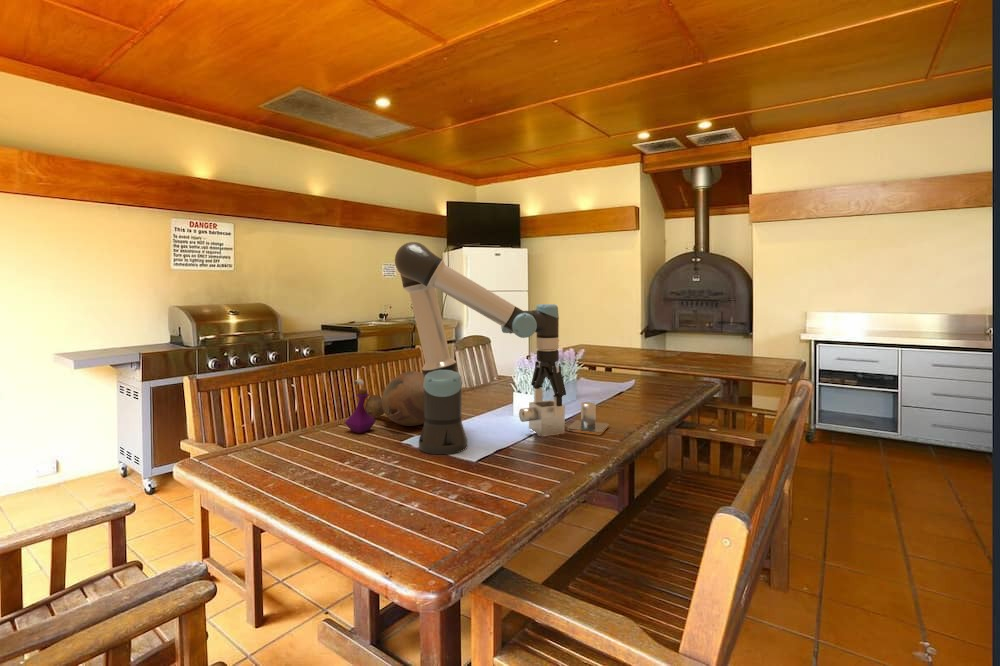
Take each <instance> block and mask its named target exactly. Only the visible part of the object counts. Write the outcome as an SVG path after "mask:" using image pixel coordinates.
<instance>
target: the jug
mask: <svg viewBox="0 0 1000 666" xmlns="http://www.w3.org/2000/svg"><path fill="white" fill-rule="evenodd" d="M423 382H424V376H423V372H421V371H415V370H411V371H410V370H409V371H405V372H403V373H400V374H399V375H397V376H396V377H393V379H392V380H390V381H389V382H388V384H387V385H386V386H385V388H384V390H383V393H382V395H381V396H379V395H377V394H376V395H375V394H372V395H371V396H368V398H367V400H366V402H365V411H366V412H367V413H368V414H369V415H370V416H371V417H372V418H373V419H374V420H375V419H376V418H378V417H380V416H383V415H384V414H385V416H386V417H387V418H388V419H389V420H390V421H392V422H394V423H396V424H397V425H401V426H405V427H415V426H420V425H424V387H423Z"/></svg>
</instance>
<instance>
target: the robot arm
mask: <svg viewBox="0 0 1000 666" xmlns="http://www.w3.org/2000/svg"><path fill="white" fill-rule="evenodd" d="M394 256H395V257H394V264H395V268H396V269H397V271H398V273H399V274H400V278H401V283H402V287H403V290H404V291H406V292H408V294H409V297H410V302H411V306H412V309H413V315H414V319H415V324H416V327H417V332H418V333H417V334H418V337H419V338H418V339H419V340H420V347H421V350H422V354H423V355H422V356H423V359H424V364H423V366H422V367H421V371H422V372H421V373H423V376H424V382H423V387H424V423H423V427H422V429H421V432H420V436H419V438H418V449H419V450H420V451H421V452H423V453H426V454H430V455H431V454H432V455H451V453H452V454H457V453H460V452H462V451H461V450H463V449H465V448H466V447H467V448H468V438H467V434H466V432H465V428H464V425H463V420H462V419H463V418H462V417H463V414H462V409H463V408H462V397H463V396H462V395H463V394H462V390H463V389H462V387H463V380H462V375H461V373H459V370H458V365H457V361H456V359H453V358H452V357H451V354H450V350H449V345H448V340H447V336H446V331H445V327H444V322H443V318H442V312H441V308H440V305H439V300H438V295H437V290H438V291H440V292H442V293H444V294H446V295H447V296H449V297H450V298H452V299H454V300H456V301H458V302H459V303H461V304H463V305H465V306H466V307H468V308H469V309H471V310H473V311H475V312H476V313H479V314H480V315H482V316H483V317H485V318H487V319H488V320H490V321H492V322H494V323H496V324H498V325H500V329H501V332H502V333H504V334H510V335H511V334H514V335H516V336H517V337H519V338H520V339H526V338H530V337H532V336H533V335H534V334H536V336H535V337H536V341H535V344H536V345H535V346H536V349H537V350H536V361H535V362H534V371H533V374H532V379H531V383H530V385H531V386H533V388H534V402H539V401H544V397H543V396H544V395H543V394H544V393H543V390H544V389H543V384H544V381H545V380H546V378H547V380H549V382H550V386H551V388H552V391H553V393H554V395H553V401H554V416H559V415H562V405H563V397H564V396H567V391H566V387H565V382H564V379H563V375H562V367H561V365H557V364H556V362H558V361H559V358H560V353H559V350H558V349H559V347H560V346H559V345H560V344H559V342H560V339H559V337H560V336H559V332H560V331H559V330H560V329H559V328H560V327H559V325H560V324H559V322H560V321H559V320H560V317H559V307H558V305H557V304H555V303H554V304H552V303H543V304H542V303H541V304H537V305H536V307H535V309H534V310H523V309H522V308H519V307H518V306H516V305H514V304H513V303H511V302H509V301H507V300H506V299H504V298H502V297H500V296H499V295H497V294H496V293H494V292H492V291H490V289H487V288H485V287H484V286H482V285H480V284H479V283H477V282H476V281H473V280H472V279H470V278H468V277H467V276H465V275H464V274H462V273H460V272H458V271H456V270H454V269H453V268H451V267H449V266H448V265H446V264H445V261H444V259H443V258H441V257H440V256H438V255H436V254H435V253H433V252H432V251H431V250H430V249H429V248H428V247H427V246H425V245H424V244H422V243H421V242H418V241H417V242H416V241H409V242H406V243H404V244H403V245H401V246H400V247H399V248H398V249H397V251H396V253H395V255H394ZM467 448H466V449H467ZM466 449H465V450H466ZM459 451H460V452H459ZM463 451H464V450H463ZM456 452H457V453H456Z"/></svg>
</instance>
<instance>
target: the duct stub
mask: <svg viewBox="0 0 1000 666" xmlns="http://www.w3.org/2000/svg"><path fill="white" fill-rule="evenodd" d="M580 404H581V405H580V406H581V409H580V412H581V413H580V420H578V419H576V420H574V422H573V423H571V424H570V425H569V426H567V427H566V430H567V429H569V430H581V431H589V432H597V433H601V432H602V431H603V430H604V429H605V428H606V427H607V426H608V425H609V426H610V424H609V423H604V422H597V421H596V417H597V414H596V413H597V411H596V410H597V409H596V408H597V404H596V403H595V402H592V401H591V402H590V401H589V402H588V401H585V402H584V401H583V402H581V403H580Z"/></svg>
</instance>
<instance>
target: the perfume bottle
mask: <svg viewBox="0 0 1000 666" xmlns="http://www.w3.org/2000/svg"><path fill="white" fill-rule="evenodd" d="M353 383H354V385H355V386H356V385H357V384H359V385H360V386H361V388H359V389H358V393H357V394H356V397H358V403H357V406H356V408H355V410H354V411H353V413H352V414H351V415H350V416H349V417H348V418H347V419H346V421H344V424H345V425H346V426H347V428H348V429H349V430H350V431H351V432H353V433H358V434H362V433H365V432H369V431H370V430H371V428H372V427H373V426H374V425H375V423H376V419H375V418H374V419H373V418H372V417H371V416H370V415H369V414H368V413H367V412H366V407H365V401H366V399H367V397H370V394H369V393H368V388H364V384H365V383H364V380H363V379H360V378H359V379H356V380H354V381H353Z"/></svg>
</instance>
